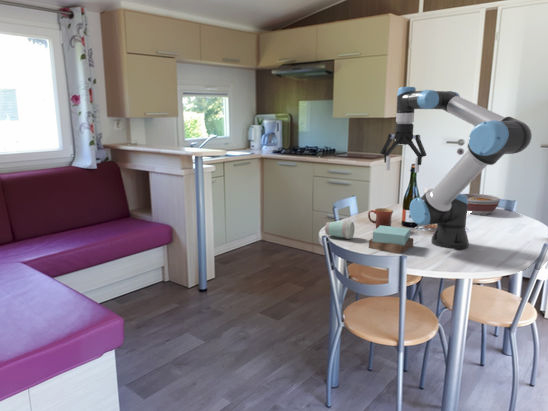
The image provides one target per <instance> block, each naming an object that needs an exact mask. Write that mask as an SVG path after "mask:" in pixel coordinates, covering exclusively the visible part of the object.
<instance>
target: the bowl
mask: <svg viewBox="0 0 548 411" xmlns="http://www.w3.org/2000/svg"><path fill="white" fill-rule="evenodd" d="M463 194H464V195H466V196H467V197H468V206H467V211H472V214H471V215H476V214H487V215H490V214H492V213H493V212H494V211H495V210H496V208H497V207H498V206H499V203H500V201H501V200H500V199H501V198H499V197H498V196H495V195H490V194H483V193H482V194H481V193H463Z"/></svg>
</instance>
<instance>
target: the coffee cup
mask: <svg viewBox="0 0 548 411" xmlns="http://www.w3.org/2000/svg"><path fill="white" fill-rule="evenodd" d="M324 230H325V231H324V232H325V235H326V236H331V237H337V238H341V239H346V240H350V239H353V238H354V235H355V223H354V221H351V220H346V221H329V222H328V221H327V222H326V223H325V226H324Z"/></svg>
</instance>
